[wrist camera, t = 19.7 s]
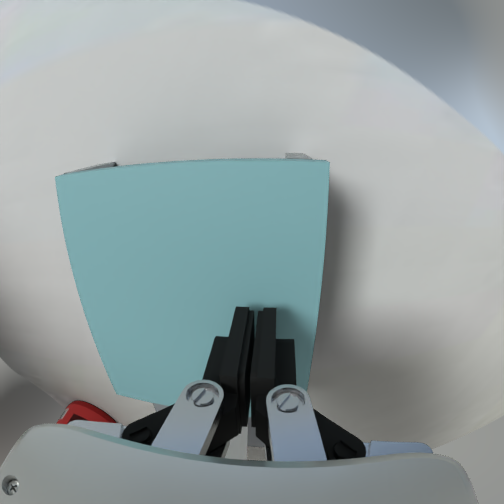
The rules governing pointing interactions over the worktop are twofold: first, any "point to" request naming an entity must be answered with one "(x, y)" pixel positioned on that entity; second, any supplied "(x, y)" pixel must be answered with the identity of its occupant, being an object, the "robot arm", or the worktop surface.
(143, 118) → the worktop surface
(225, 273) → the panel
